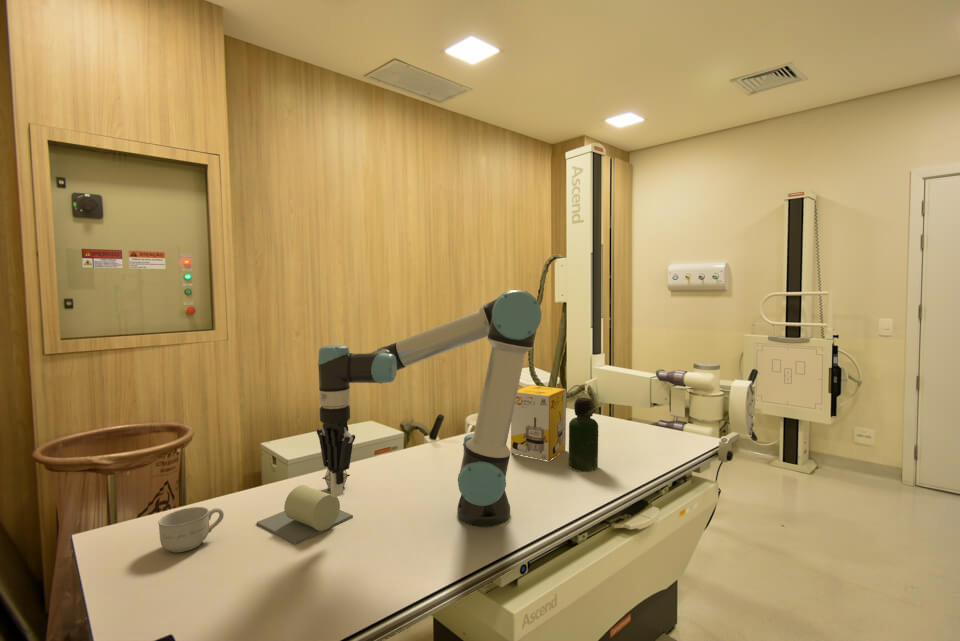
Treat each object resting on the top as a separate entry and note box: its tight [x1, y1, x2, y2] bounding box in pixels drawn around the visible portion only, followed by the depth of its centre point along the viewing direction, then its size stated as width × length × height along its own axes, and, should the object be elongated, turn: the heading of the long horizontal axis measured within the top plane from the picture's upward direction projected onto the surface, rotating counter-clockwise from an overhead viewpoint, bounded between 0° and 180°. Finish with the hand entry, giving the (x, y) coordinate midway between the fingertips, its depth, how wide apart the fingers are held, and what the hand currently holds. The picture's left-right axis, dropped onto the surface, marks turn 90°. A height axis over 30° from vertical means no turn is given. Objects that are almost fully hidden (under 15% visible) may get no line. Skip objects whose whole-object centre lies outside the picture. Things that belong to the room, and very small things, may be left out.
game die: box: [321, 468, 351, 492], centre depth 154 cm, size 9×8×10 cm
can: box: [283, 484, 341, 532], centre depth 130 cm, size 9×9×12 cm
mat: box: [256, 509, 354, 545], centre depth 132 cm, size 18×18×1 cm
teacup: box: [157, 506, 225, 553], centre depth 120 cm, size 14×11×8 cm
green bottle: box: [568, 397, 599, 472], centre depth 174 cm, size 10×10×25 cm
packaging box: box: [510, 384, 567, 462], centre depth 190 cm, size 16×16×25 cm
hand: (337, 495), depth 124 cm, fingers closed
